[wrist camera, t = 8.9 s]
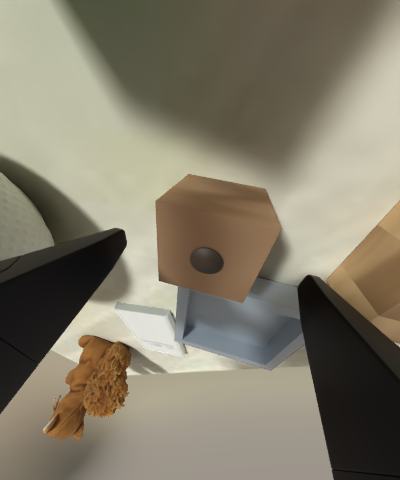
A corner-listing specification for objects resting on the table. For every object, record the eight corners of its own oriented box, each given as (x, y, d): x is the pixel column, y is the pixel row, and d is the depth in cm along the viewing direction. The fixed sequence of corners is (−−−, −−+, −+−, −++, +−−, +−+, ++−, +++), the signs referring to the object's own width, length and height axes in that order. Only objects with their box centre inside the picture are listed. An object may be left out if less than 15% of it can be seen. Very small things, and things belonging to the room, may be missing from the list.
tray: (321, 293, 13) (335, 320, 11) (268, 348, 20) (270, 370, 19) (186, 259, 15) (178, 278, 13) (180, 322, 22) (174, 340, 20)
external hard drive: (171, 305, 21) (186, 347, 28) (119, 298, 23) (145, 339, 30) (166, 317, 20) (184, 358, 26) (112, 308, 22) (141, 349, 28)
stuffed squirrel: (79, 334, 35) (10, 421, 25) (121, 333, 29) (52, 447, 19) (110, 355, 39) (62, 437, 29) (151, 358, 34) (110, 462, 23)
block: (265, 188, 10) (282, 229, 6) (242, 249, 13) (242, 305, 9) (188, 173, 10) (154, 202, 6) (183, 235, 13) (158, 282, 9)
